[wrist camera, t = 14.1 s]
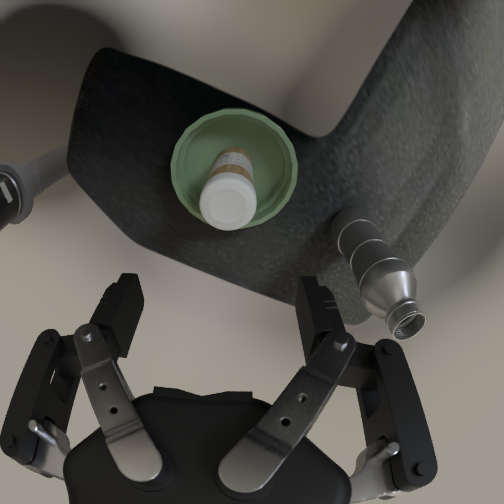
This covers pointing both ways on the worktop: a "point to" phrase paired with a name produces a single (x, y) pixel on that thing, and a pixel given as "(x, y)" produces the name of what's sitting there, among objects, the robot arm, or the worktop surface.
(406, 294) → the plastic bottle
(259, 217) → the bowl
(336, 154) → the worktop surface
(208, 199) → the sprinkles bottle
